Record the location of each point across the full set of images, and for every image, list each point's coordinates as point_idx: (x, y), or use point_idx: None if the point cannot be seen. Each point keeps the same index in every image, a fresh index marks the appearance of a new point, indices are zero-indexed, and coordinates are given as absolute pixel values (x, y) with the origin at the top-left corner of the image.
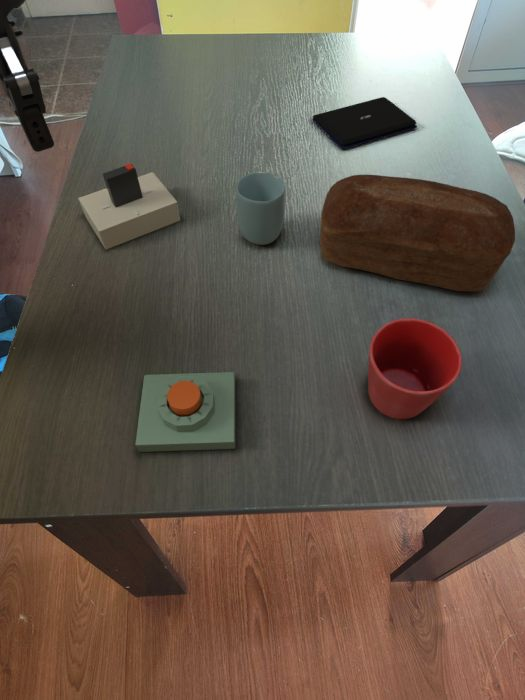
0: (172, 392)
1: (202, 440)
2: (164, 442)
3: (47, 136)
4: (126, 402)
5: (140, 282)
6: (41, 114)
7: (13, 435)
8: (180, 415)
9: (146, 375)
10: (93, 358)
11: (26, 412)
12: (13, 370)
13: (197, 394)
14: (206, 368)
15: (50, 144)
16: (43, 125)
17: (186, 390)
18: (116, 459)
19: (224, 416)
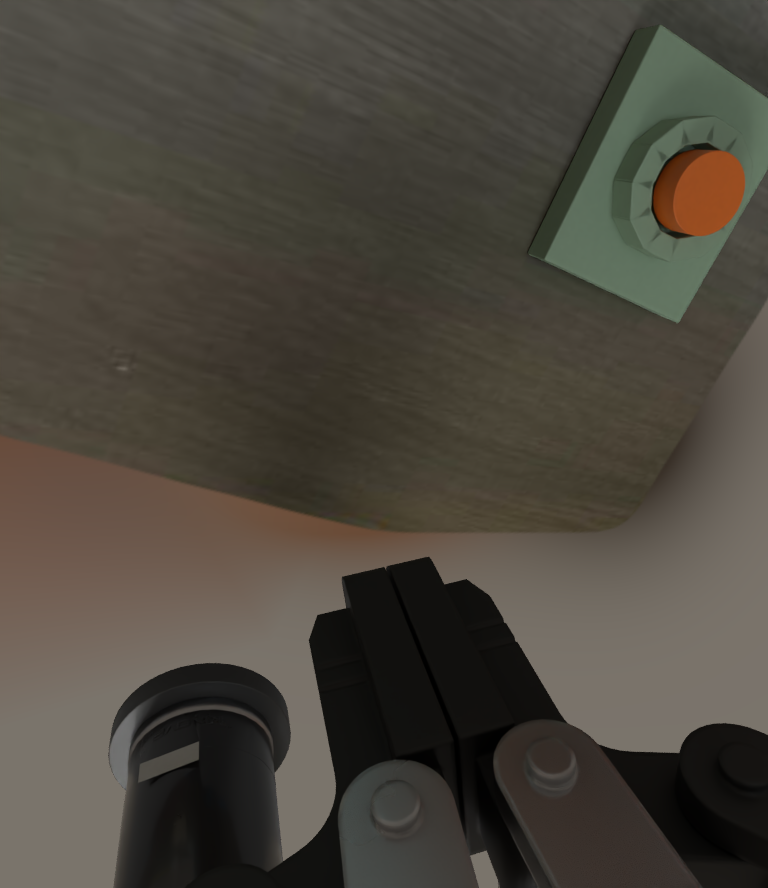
0: (689, 218)
1: (752, 186)
2: (708, 265)
3: (501, 618)
4: (546, 311)
5: (179, 166)
6: (507, 711)
7: (500, 520)
8: None
9: (548, 255)
10: (401, 357)
11: (466, 498)
12: (355, 518)
13: (729, 161)
14: (564, 91)
15: (465, 582)
16: (532, 672)
17: (705, 183)
18: (643, 357)
19: (740, 112)
